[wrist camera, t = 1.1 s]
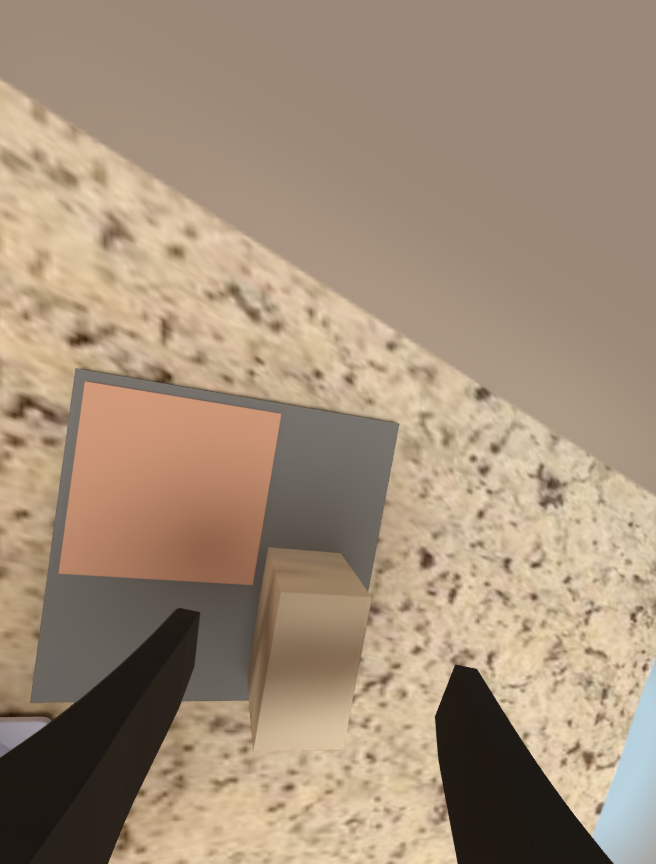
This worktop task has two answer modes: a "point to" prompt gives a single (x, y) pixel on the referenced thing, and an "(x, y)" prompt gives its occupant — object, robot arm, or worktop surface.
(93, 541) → the rubber mat
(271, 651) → the birch block
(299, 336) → the worktop surface
